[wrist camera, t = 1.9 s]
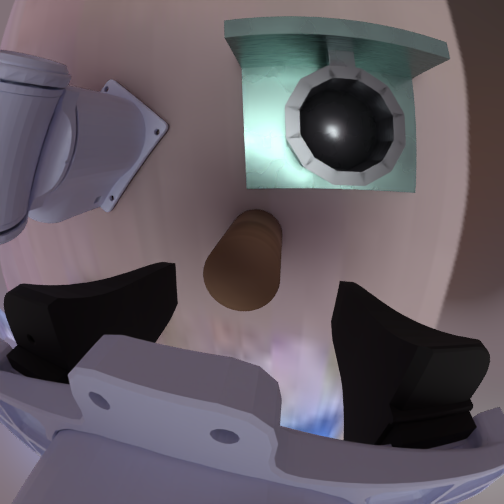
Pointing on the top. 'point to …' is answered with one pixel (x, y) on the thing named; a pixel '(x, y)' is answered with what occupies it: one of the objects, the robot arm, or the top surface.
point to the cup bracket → (329, 101)
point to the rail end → (246, 262)
